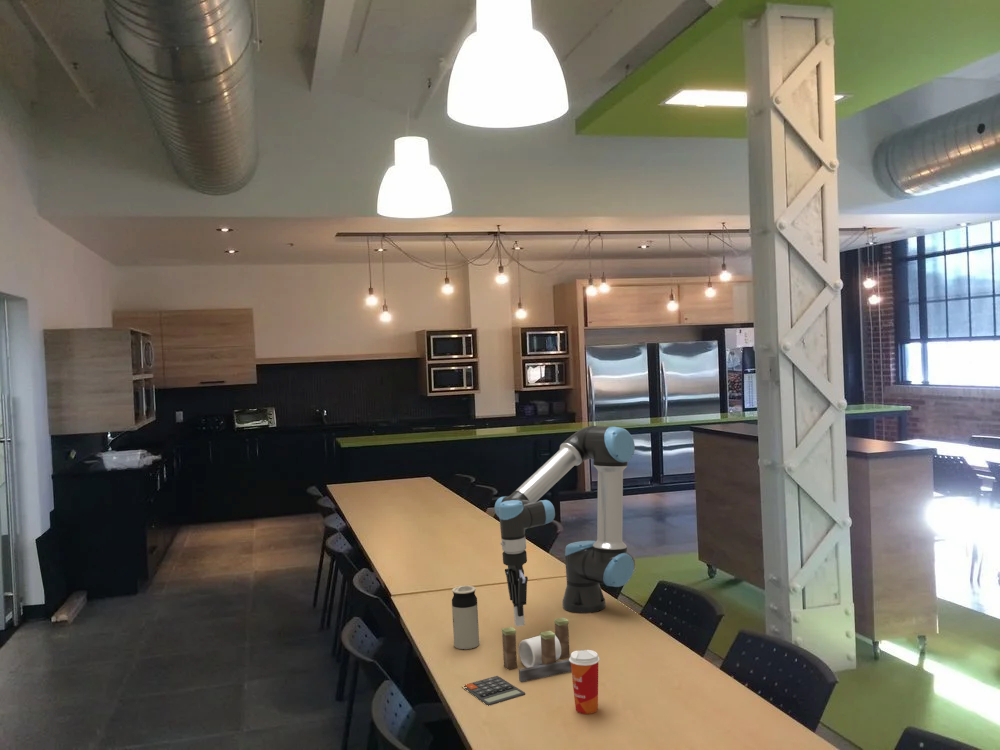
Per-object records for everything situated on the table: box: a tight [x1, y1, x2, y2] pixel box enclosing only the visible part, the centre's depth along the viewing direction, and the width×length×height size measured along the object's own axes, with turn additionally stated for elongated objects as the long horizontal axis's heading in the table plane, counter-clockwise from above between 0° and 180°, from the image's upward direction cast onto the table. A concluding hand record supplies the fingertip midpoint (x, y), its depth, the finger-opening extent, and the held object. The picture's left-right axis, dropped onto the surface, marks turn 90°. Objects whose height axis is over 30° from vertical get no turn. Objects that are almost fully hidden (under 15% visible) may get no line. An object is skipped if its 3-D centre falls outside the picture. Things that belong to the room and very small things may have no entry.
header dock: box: [501, 617, 572, 683], centre depth 230 cm, size 20×13×11 cm, turn 112°
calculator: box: [464, 675, 526, 706], centre depth 216 cm, size 12×1×15 cm
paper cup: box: [568, 649, 600, 715], centre depth 201 cm, size 8×8×14 cm
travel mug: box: [451, 585, 480, 650], centre depth 251 cm, size 8×8×18 cm
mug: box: [518, 634, 561, 668], centre depth 235 cm, size 12×10×8 cm
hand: (519, 625), depth 249 cm, fingers closed
